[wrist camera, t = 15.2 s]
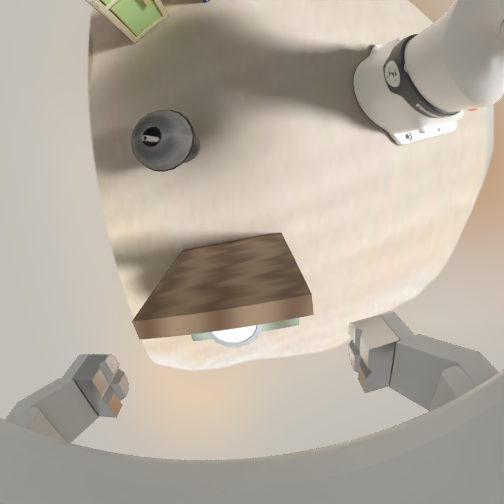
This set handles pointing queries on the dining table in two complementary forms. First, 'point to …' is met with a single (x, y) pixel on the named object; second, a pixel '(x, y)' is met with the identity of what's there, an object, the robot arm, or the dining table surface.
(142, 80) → the dining table surface
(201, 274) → the wall shelf
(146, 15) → the toy refrigerator
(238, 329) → the white cup
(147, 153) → the beverage cup
